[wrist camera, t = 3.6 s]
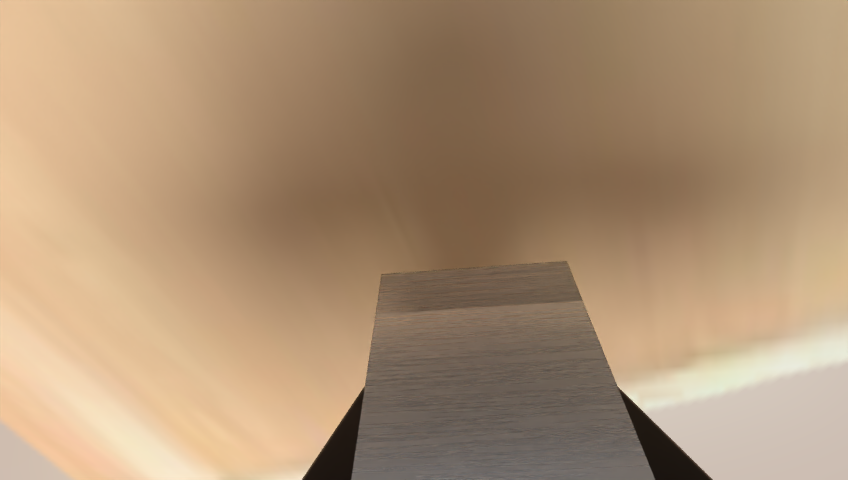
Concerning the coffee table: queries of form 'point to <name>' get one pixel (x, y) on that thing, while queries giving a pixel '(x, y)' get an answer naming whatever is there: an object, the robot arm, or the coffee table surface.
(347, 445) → the robot arm
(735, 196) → the coffee table surface
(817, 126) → the coffee table surface
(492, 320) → the grey stepped block
